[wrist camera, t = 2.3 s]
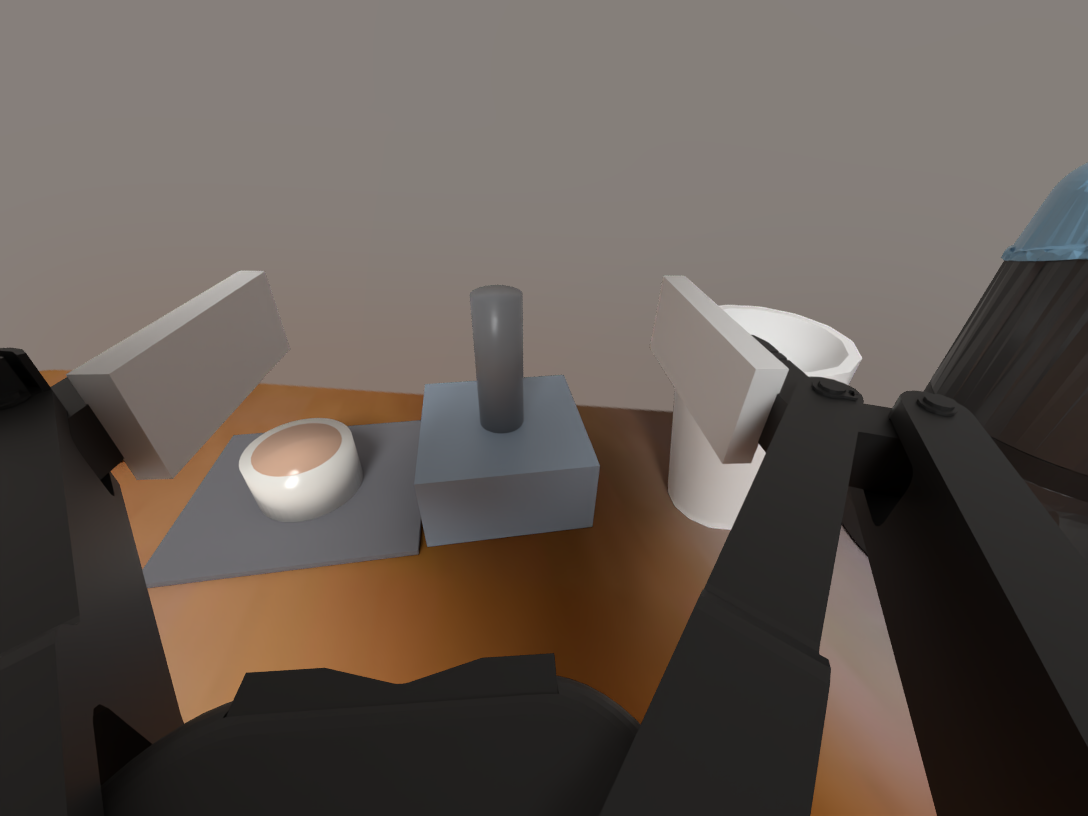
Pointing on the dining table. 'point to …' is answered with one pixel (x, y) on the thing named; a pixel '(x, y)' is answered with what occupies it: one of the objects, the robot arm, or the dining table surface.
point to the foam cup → (723, 488)
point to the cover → (502, 441)
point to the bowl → (302, 469)
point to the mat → (273, 546)
